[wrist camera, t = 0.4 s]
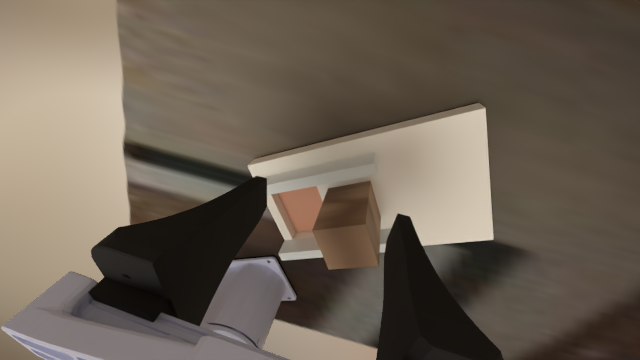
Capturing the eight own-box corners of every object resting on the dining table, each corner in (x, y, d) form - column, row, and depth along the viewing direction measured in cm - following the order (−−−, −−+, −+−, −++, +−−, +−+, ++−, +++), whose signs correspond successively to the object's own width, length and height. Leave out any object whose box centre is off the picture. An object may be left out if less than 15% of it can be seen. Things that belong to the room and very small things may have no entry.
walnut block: (340, 222, 26) (328, 269, 21) (327, 188, 24) (312, 230, 19) (380, 216, 24) (378, 266, 19) (370, 180, 23) (365, 224, 18)
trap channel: (296, 247, 31) (287, 270, 28) (254, 159, 26) (236, 175, 23) (487, 228, 24) (501, 256, 21) (478, 102, 19) (495, 116, 16)
